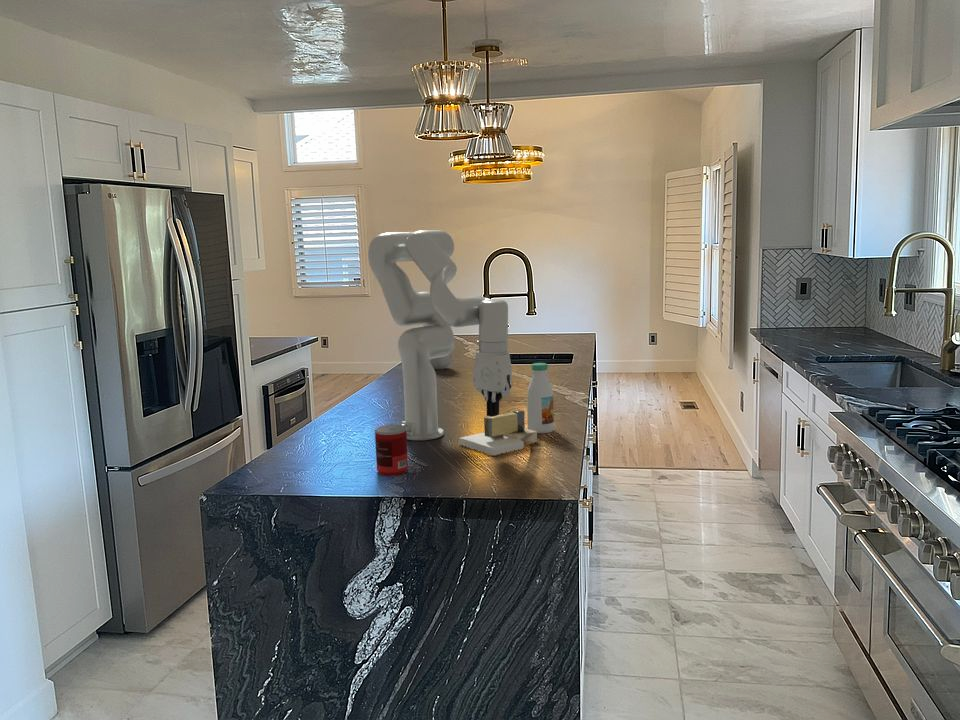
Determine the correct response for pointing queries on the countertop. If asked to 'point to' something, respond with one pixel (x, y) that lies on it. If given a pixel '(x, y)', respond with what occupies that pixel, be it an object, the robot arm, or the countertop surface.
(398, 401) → the countertop surface
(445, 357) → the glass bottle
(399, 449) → the canned food
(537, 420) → the milk bottle
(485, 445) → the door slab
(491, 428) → the bar
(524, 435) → the jamb block
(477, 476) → the countertop surface
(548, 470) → the countertop surface
